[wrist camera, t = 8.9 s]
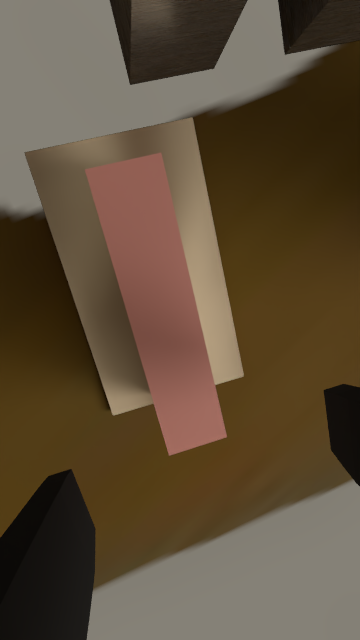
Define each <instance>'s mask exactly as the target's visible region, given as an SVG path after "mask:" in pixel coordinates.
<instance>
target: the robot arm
mask: <svg viewBox="0 0 360 640" xmlns="http://www.w3.org/2000/svg"><path fill="white" fill-rule="evenodd" d="M324 396H325V404H326V412H327V420H328V429H329V437H330V445H331V450H332V452H333V453H334V455H335V456H336V457H337V459H338V460H339V461H340V463H341V464H342V465H343V467H344V468H345V469H346V471H347V472H348V473H349V474H350V476H351V477H352V478H353V479H354V481H355V482H356V483H357V484H358V485H359V486H360V388H359V387H355V386H351V385H346V384H342V385H339V386H335V387H332V388H329V389H326V390H324ZM94 574H95V527H94V524H93V522H92V519H91V517H90V514H89V512H88V509H87V507H86V504H85V502H84V499H83V497H82V494H81V492H80V489H79V487H78V484H77V482H76V479H75V477H74V474H73V472H72V469H70V470H67V471H63V472H60V473H57V474H54V475H51V476H48V477H47V478H46V480H45V481H44V482H43V483H42V484H41V486H40V487H39V488H38V489H37V491H36V492H35V493H34V495H33V496H32V497H31V499H30V500H29V501H28V502H27V504H26V505H25V506H24V508H23V509H22V510H21V512H20V513H19V514H18V516H17V517H16V518H15V520H14V521H13V522H12V524H11V525H10V526H9V527H8V529H7V530H6V531H5V533H4V534H3V535H2V537H1V538H0V640H86V639H87V631H88V623H89V616H90V608H91V599H92V592H93V583H94Z"/></svg>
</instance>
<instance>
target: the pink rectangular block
mask: <svg viewBox="0 0 360 640" xmlns="http://www.w3.org/2000/svg"><path fill="white" fill-rule="evenodd" d="M85 172H86V176H87V179H88V182H89V186H90V189H91V192H92V196H93V199H94V203H95V206H96V209H97V213H98V216H99V220H100V223H101V226H102V230H103V233H104V236H105V240H106V243H107V247H108V250H109V253H110V257H111V260H112V264H113V267H114V270H115V274H116V277H117V280H118V284H119V287H120V291H121V294H122V297H123V301H124V304H125V308H126V311H127V314H128V318H129V321H130V325H131V328H132V331H133V335H134V338H135V341H136V345H137V348H138V352H139V355H140V358H141V362H142V365H143V369H144V372H145V375H146V379H147V382H148V385H149V389H150V392H151V396H152V399H153V402H154V406H155V409H156V413H157V416H158V419H159V423H160V426H161V429H162V433H163V436H164V440H165V443H166V446H167V450H168V453H169V455H172V454H176V453H179V452H182V451H185V450H188V449H191V448H194V447H197V446H201V445H204V444H207V443H210V442H213V441H216V440H219V439H222V438H225V437H227V435H226V431H225V427H224V422H223V418H222V414H221V409H220V405H219V401H218V396H217V392H216V388H215V383H214V379H213V375H212V370H211V366H210V362H209V357H208V353H207V349H206V344H205V340H204V336H203V331H202V327H201V323H200V318H199V314H198V310H197V305H196V301H195V297H194V292H193V288H192V284H191V279H190V275H189V271H188V266H187V262H186V258H185V253H184V249H183V245H182V240H181V236H180V232H179V227H178V223H177V219H176V214H175V210H174V206H173V201H172V197H171V193H170V188H169V184H168V180H167V175H166V171H165V167H164V162H163V158H162V154H161V153H157V154H152V155H148V156H143V157H139V158H134V159H130V160H125V161H121V162H116V163H112V164H107V165H103V166H98V167H94V168H89V169H85Z"/></svg>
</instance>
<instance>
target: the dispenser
mask: <svg viewBox="0 0 360 640" xmlns="http://www.w3.org/2000/svg"><path fill="white" fill-rule="evenodd" d="M246 2H247V0H110V3H111V7H112V11H113V15H114V19H115V24H116V28H117V32H118V36H119V41H120V44H121V49H122V53H123V57H124V61H125V65H126V69H127V73H128V78H129V82H130V85H132V84H137V83H142V82H147V81H152V80H158V79H163V78H168V77H173V76H178V75H183V74H188V73H193V72H198V71H204V70H209V69H214V67H215V65H216V63H217V61H218V59H219V57H220V55H221V53H222V51H223V49H224V47H225V45H226V43H227V41H228V39H229V37H230V35H231V33H232V31H233V29H234V26H235V25H236V22H237V21H238V18H239V16H240V14H241V12H242V10H243V8H244V6H245V4H246ZM278 2H279V11H280V19H281V27H282V36H283V44H284V52H285V54H290V53H296V52H301V51H306V50H311V49H316V48H321V47H326V46H331V45H337V44H342V43H347V42H352V41H357V40H360V0H278Z"/></svg>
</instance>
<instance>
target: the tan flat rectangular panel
mask: <svg viewBox="0 0 360 640" xmlns="http://www.w3.org/2000/svg"><path fill="white" fill-rule="evenodd" d="M157 153H161V154H162V158H163V162H164V167H165V171H166V175H167V180H168V184H169V188H170V193H171V197H172V201H173V206H174V210H175V214H176V219H177V223H178V227H179V232H180V236H181V240H182V245H183V249H184V253H185V258H186V262H187V266H188V271H189V275H190V279H191V284H192V288H193V292H194V297H195V301H196V305H197V310H198V314H199V318H200V323H201V327H202V331H203V336H204V340H205V344H206V349H207V353H208V357H209V362H210V366H211V370H212V375H213V379H214V383H215V385H216V384H220V383H223V382H226V381H230V380H233V379H236V378H240V377H243V376H244V374H243V369H242V364H241V359H240V354H239V349H238V344H237V339H236V334H235V329H234V324H233V319H232V314H231V309H230V304H229V299H228V294H227V289H226V284H225V278H224V273H223V268H222V263H221V258H220V253H219V248H218V243H217V238H216V233H215V228H214V223H213V218H212V213H211V208H210V203H209V198H208V193H207V188H206V183H205V178H204V173H203V168H202V163H201V158H200V153H199V148H198V143H197V138H196V133H195V127H194V122H193V117H191V118H186V119H182V120H177V121H172V122H167V123H162V124H158V125H154V126H149V127H143V128H139V129H134V130H129V131H124V132H120V133H115V134H111V135H106V136H101V137H96V138H91V139H86V140H82V141H77V142H72V143H67V144H63V145H58V146H53V147H48V148H44V149H39V150H34V151H29V152H25V156H26V159H27V162H28V165H29V168H30V171H31V174H32V177H33V180H34V183H35V185H36V189H37V192H38V194H39V197H40V200H41V203H42V206H43V209H44V212H45V215H46V218H47V221H48V224H49V227H50V230H51V233H52V236H53V239H54V242H55V245H56V248H57V251H58V254H59V257H60V260H61V263H62V266H63V269H64V272H65V275H66V278H67V280H68V283H69V286H70V289H71V292H72V295H73V298H74V301H75V304H76V307H77V310H78V313H79V316H80V319H81V322H82V325H83V328H84V331H85V334H86V337H87V340H88V343H89V346H90V349H91V352H92V355H93V358H94V361H95V364H96V366H97V369H98V372H99V375H100V378H101V381H102V384H103V387H104V390H105V393H106V396H107V399H108V402H109V405H110V408H111V411H112V414H113V415H117V414H120V413H123V412H127V411H130V410H133V409H137V408H140V407H143V406H147V405H150V404H153V403H154V402H153V399H152V396H151V392H150V389H149V385H148V382H147V379H146V375H145V372H144V369H143V365H142V362H141V358H140V355H139V352H138V348H137V345H136V341H135V338H134V335H133V331H132V328H131V325H130V321H129V318H128V314H127V311H126V308H125V304H124V301H123V297H122V294H121V291H120V287H119V284H118V280H117V277H116V274H115V270H114V267H113V264H112V260H111V257H110V253H109V250H108V247H107V243H106V240H105V236H104V233H103V230H102V226H101V223H100V220H99V216H98V213H97V209H96V206H95V203H94V199H93V196H92V192H91V189H90V186H89V182H88V179H87V176H86V172H85V169H89V168H94V167H98V166H103V165H107V164H112V163H116V162H121V161H125V160H130V159H134V158H139V157H143V156H148V155H152V154H157Z"/></svg>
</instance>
